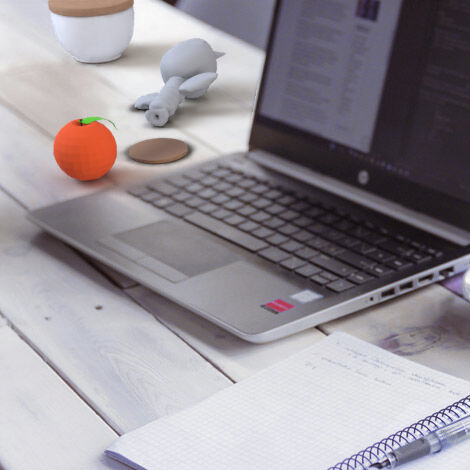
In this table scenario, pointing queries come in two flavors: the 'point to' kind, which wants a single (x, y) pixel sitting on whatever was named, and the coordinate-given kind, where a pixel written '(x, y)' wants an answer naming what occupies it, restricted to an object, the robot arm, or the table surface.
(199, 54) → the toy creature
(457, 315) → the table surface
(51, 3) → the lidded bowl
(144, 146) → the cork coaster
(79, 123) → the clementine
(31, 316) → the table surface
